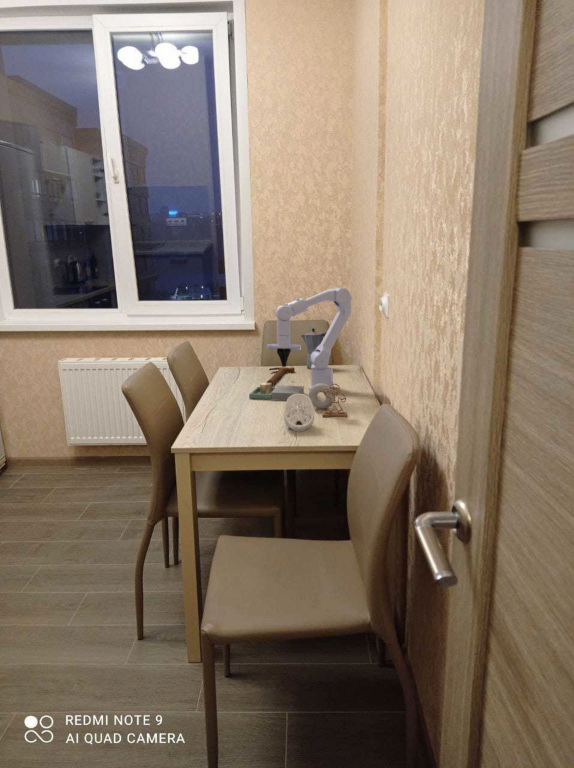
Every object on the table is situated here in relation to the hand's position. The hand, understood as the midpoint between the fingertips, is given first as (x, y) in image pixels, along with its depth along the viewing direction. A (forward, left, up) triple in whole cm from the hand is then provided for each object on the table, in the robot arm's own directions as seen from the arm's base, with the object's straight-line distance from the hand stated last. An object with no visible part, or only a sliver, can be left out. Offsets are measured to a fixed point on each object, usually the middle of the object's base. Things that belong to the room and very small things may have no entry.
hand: (284, 366), depth 238 cm
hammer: (+9, -20, -11) cm, 25 cm away
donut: (-20, +26, -11) cm, 35 cm away
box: (+7, +10, -10) cm, 16 cm away
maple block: (+4, +8, -8) cm, 12 cm away
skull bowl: (-16, +48, -11) cm, 52 cm away
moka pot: (-6, -46, -11) cm, 48 cm away
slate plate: (-4, +10, -10) cm, 15 cm away
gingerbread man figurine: (-26, +34, -11) cm, 44 cm away
